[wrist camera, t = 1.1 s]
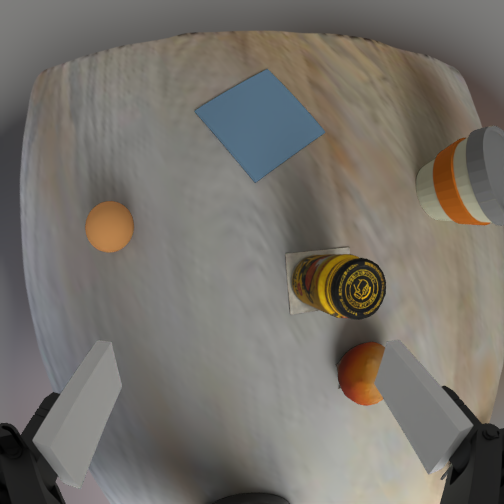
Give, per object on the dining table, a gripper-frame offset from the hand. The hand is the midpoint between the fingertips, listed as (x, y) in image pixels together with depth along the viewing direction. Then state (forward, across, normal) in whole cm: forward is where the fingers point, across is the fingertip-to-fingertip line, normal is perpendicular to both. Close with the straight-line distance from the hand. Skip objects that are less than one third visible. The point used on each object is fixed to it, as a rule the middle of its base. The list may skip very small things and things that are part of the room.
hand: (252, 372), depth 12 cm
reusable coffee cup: (+27, -30, -9) cm, 41 cm away
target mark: (+26, -2, -16) cm, 31 cm away
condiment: (+22, -10, +4) cm, 24 cm away
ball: (+19, +14, -3) cm, 24 cm away
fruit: (+19, -16, +15) cm, 29 cm away
